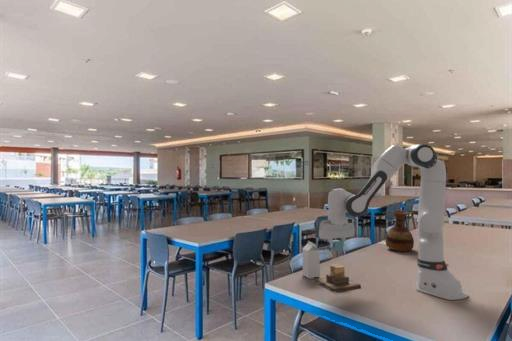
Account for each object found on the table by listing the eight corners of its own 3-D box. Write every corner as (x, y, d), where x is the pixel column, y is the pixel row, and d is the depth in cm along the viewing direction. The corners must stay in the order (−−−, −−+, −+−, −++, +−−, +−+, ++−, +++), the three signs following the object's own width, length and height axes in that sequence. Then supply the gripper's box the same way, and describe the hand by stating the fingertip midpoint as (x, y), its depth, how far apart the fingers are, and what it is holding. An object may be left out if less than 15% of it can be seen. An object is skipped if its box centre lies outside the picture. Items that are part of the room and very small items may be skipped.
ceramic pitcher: (387, 251, 234) (386, 211, 235) (384, 246, 254) (383, 209, 255) (416, 253, 229) (415, 212, 230) (411, 247, 248) (410, 209, 249)
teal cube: (343, 250, 162) (343, 241, 162) (335, 251, 160) (335, 242, 160) (337, 248, 166) (337, 240, 166) (330, 249, 164) (330, 240, 164)
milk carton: (308, 278, 172) (307, 243, 172) (302, 275, 178) (302, 241, 179) (319, 277, 174) (319, 243, 174) (314, 274, 180) (313, 240, 181)
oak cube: (344, 276, 161) (344, 266, 161) (336, 277, 159) (336, 267, 159) (338, 273, 166) (338, 264, 166) (330, 274, 164) (330, 265, 164)
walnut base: (360, 287, 158) (360, 278, 158) (334, 291, 152) (334, 282, 152) (340, 278, 173) (340, 269, 173) (315, 281, 167) (315, 273, 167)
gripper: (323, 221, 156) (323, 249, 156) (356, 219, 164) (356, 246, 164) (316, 220, 162) (316, 247, 162) (348, 218, 170) (348, 244, 170)
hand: (336, 246), depth 163 cm, fingers closed on teal cube, 4 cm apart
